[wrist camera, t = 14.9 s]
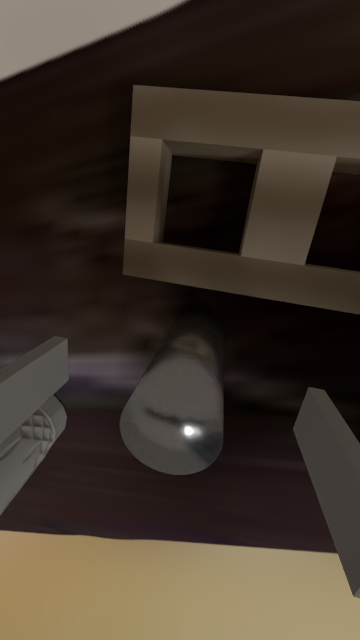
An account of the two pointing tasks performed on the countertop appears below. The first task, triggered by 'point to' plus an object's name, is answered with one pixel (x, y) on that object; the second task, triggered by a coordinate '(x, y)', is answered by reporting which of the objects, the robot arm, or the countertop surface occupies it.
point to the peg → (180, 399)
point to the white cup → (28, 448)
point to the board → (266, 196)
